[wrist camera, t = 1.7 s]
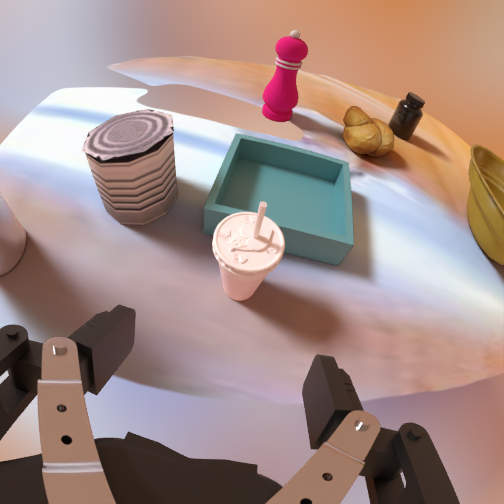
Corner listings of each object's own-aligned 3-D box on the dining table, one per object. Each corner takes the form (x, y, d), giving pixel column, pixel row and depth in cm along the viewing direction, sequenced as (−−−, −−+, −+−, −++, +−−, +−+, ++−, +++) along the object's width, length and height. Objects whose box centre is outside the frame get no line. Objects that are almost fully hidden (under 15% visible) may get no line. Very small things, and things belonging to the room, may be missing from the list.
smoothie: (276, 297, 32) (315, 224, 20) (227, 321, 30) (239, 256, 18) (249, 254, 35) (270, 169, 23) (202, 274, 32) (199, 190, 21)
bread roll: (383, 142, 56) (397, 115, 49) (397, 169, 51) (414, 141, 44) (334, 129, 55) (345, 99, 48) (344, 156, 49) (359, 123, 43)
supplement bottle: (404, 129, 63) (421, 95, 53) (413, 143, 59) (432, 108, 49) (384, 122, 62) (400, 86, 52) (392, 136, 58) (411, 99, 48)
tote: (203, 233, 35) (203, 208, 31) (233, 157, 44) (236, 133, 40) (337, 265, 36) (353, 245, 31) (337, 184, 44) (348, 162, 40)
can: (105, 234, 33) (76, 168, 23) (105, 178, 39) (87, 116, 29) (185, 216, 37) (180, 144, 26) (173, 163, 42) (169, 98, 32)
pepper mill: (283, 106, 57) (302, 28, 40) (299, 122, 53) (323, 38, 37) (254, 107, 54) (269, 24, 38) (268, 124, 51) (288, 33, 34)
